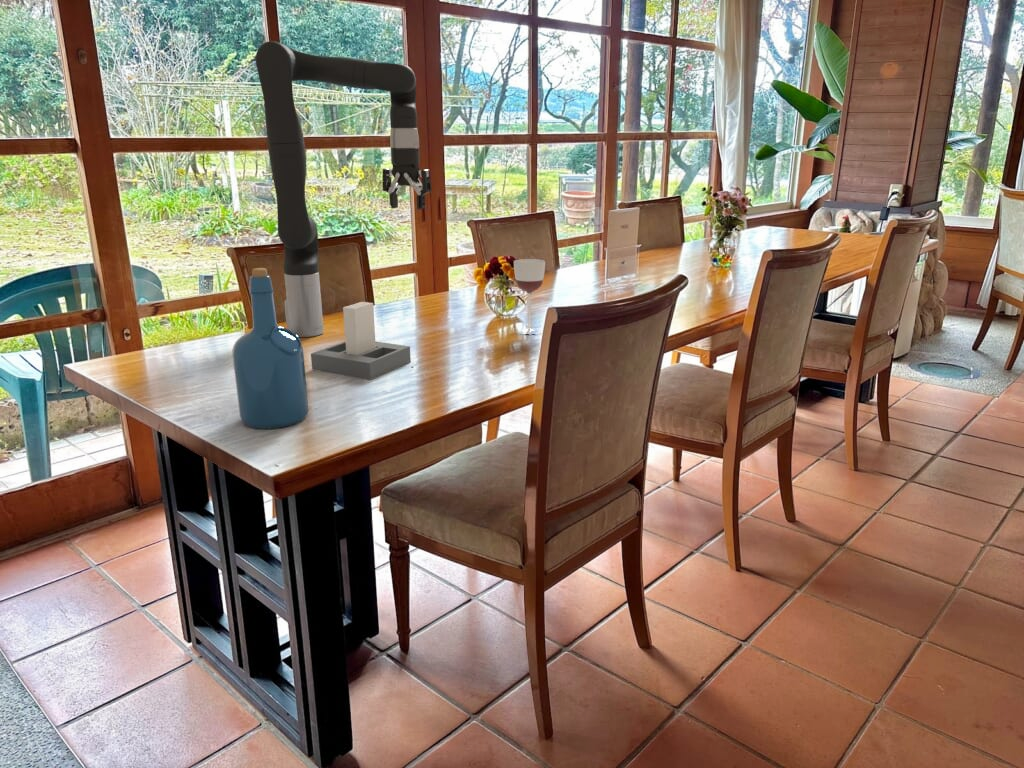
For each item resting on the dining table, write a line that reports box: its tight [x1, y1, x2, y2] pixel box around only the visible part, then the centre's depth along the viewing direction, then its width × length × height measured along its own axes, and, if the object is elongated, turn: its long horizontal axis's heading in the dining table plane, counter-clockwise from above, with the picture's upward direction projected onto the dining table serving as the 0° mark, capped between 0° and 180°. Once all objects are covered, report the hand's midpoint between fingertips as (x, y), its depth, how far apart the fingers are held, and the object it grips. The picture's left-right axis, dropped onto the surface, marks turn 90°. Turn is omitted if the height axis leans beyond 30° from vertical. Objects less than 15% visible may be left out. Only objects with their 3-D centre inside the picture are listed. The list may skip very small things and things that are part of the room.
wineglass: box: [513, 258, 546, 332], centre depth 217 cm, size 8×9×20 cm
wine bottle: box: [231, 267, 310, 430], centre depth 150 cm, size 14×13×30 cm
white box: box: [342, 301, 376, 356], centre depth 186 cm, size 3×7×14 cm, turn 152°
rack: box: [310, 340, 412, 381], centre depth 188 cm, size 17×16×4 cm
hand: (407, 208), depth 210 cm, fingers open, 8 cm apart
